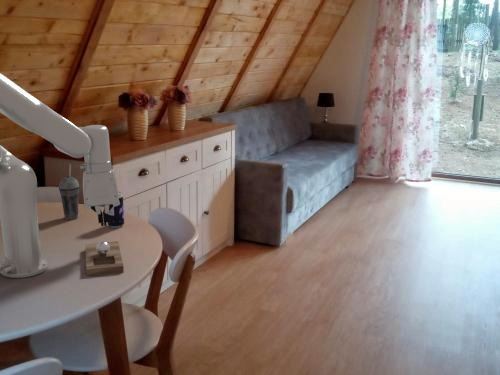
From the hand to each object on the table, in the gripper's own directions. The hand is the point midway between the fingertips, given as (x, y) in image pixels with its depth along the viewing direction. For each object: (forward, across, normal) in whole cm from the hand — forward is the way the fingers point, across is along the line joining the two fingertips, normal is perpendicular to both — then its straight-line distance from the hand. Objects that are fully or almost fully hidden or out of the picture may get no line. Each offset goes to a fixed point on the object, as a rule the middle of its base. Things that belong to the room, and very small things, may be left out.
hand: (103, 224), depth 169 cm
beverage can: (+9, +5, +23) cm, 25 cm away
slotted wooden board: (+8, -1, -8) cm, 12 cm away
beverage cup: (+9, -10, +36) cm, 39 cm away
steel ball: (+4, -1, -8) cm, 9 cm away
